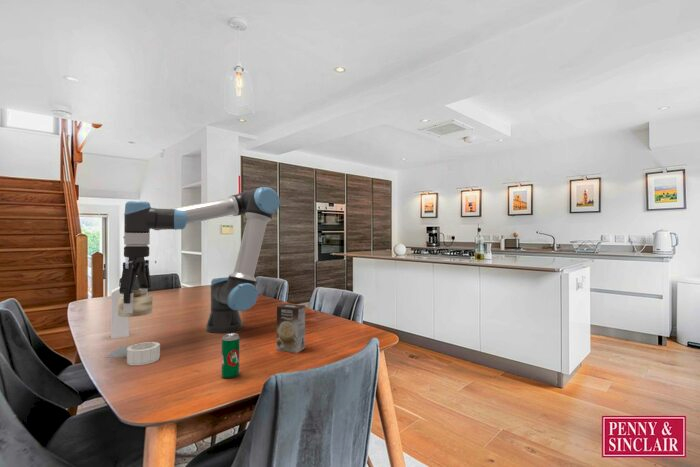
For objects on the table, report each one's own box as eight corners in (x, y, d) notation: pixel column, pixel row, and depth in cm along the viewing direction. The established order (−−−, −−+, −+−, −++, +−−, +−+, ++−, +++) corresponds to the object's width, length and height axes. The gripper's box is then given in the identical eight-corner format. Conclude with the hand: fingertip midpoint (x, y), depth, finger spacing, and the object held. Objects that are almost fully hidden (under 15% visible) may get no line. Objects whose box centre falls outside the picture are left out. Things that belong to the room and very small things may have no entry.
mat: (156, 345, 127) (156, 344, 127) (143, 356, 116) (143, 355, 116) (121, 347, 125) (121, 346, 125) (104, 358, 113) (104, 357, 113)
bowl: (163, 355, 116) (163, 341, 117) (153, 365, 108) (153, 349, 108) (134, 357, 115) (134, 342, 115) (121, 367, 106) (121, 351, 106)
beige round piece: (157, 310, 123) (157, 288, 123) (144, 316, 113) (145, 292, 113) (127, 310, 121) (127, 288, 121) (111, 317, 111) (112, 293, 111)
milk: (111, 340, 134) (111, 284, 135) (110, 336, 139) (110, 283, 139) (129, 337, 138) (129, 283, 138) (128, 333, 143) (128, 281, 143)
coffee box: (275, 350, 123) (275, 306, 123) (284, 345, 129) (284, 303, 129) (297, 353, 120) (298, 308, 120) (305, 347, 126) (306, 304, 126)
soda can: (224, 372, 102) (224, 332, 103) (241, 371, 103) (241, 332, 103) (219, 379, 97) (219, 337, 98) (237, 378, 98) (237, 337, 98)
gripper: (140, 244, 128) (139, 303, 127) (106, 246, 106) (105, 317, 105) (161, 245, 129) (160, 303, 129) (132, 246, 107) (131, 316, 106)
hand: (135, 309), depth 117 cm, fingers closed on beige round piece, 10 cm apart
